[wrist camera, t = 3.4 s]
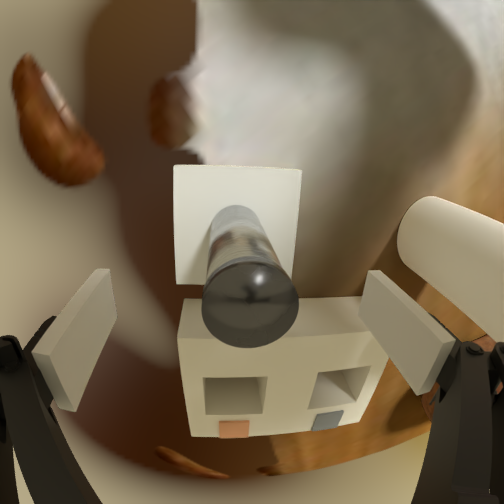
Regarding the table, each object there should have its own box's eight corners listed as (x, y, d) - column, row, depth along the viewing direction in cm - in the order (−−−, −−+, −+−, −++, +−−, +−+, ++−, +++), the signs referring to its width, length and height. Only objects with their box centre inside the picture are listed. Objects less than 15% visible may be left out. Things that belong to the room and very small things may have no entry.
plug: (210, 202, 22) (200, 265, 11) (263, 204, 23) (304, 266, 12) (209, 253, 24) (202, 348, 13) (260, 253, 24) (292, 346, 13)
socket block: (184, 298, 26) (176, 340, 20) (372, 295, 29) (401, 329, 23) (193, 397, 31) (191, 438, 25) (343, 387, 34) (359, 423, 28)
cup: (391, 272, 28) (492, 369, 13) (401, 194, 25) (536, 256, 10) (445, 266, 29) (539, 340, 14) (456, 197, 26) (572, 249, 11)
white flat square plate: (175, 164, 22) (173, 165, 21) (298, 169, 23) (302, 170, 22) (177, 278, 26) (176, 284, 25) (287, 279, 27) (290, 284, 26)
